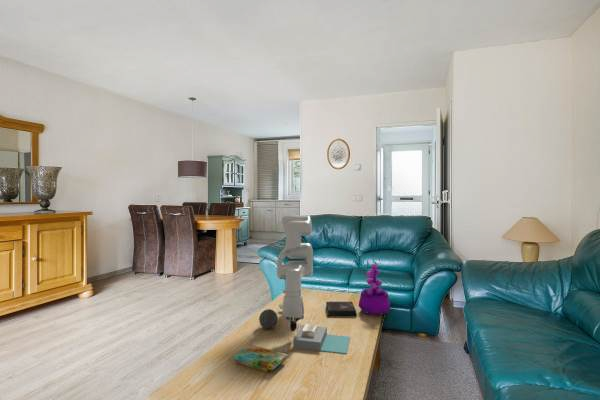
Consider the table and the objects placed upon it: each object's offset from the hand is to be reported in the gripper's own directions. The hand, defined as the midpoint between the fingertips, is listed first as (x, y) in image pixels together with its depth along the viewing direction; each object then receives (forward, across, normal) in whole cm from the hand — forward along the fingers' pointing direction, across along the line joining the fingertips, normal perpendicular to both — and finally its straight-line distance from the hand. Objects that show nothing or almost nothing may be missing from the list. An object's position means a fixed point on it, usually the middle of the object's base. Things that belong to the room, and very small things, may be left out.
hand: (293, 329), depth 164 cm
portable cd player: (+5, +18, +45) cm, 49 cm away
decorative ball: (+5, -17, +10) cm, 20 cm away
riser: (+5, +9, 0) cm, 10 cm away
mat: (+5, +21, 0) cm, 22 cm away
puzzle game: (+5, -7, -26) cm, 28 cm away
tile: (+1, +8, 0) cm, 8 cm away
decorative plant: (+5, +38, +48) cm, 62 cm away
